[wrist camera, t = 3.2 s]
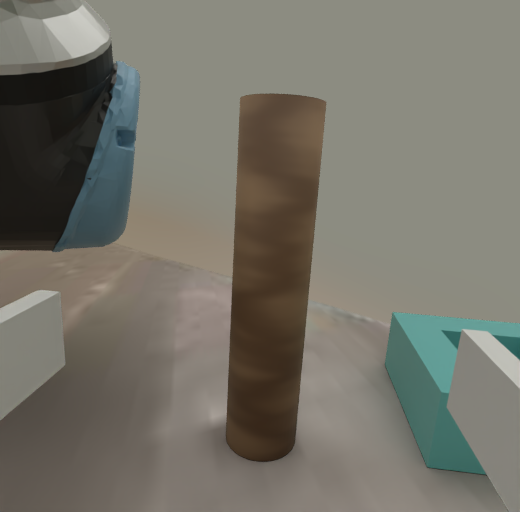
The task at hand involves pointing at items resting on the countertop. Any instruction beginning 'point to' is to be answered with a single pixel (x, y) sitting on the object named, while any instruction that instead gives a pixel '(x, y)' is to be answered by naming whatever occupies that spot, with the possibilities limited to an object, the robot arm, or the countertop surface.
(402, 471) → the countertop surface
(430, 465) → the socket
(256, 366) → the dowel
